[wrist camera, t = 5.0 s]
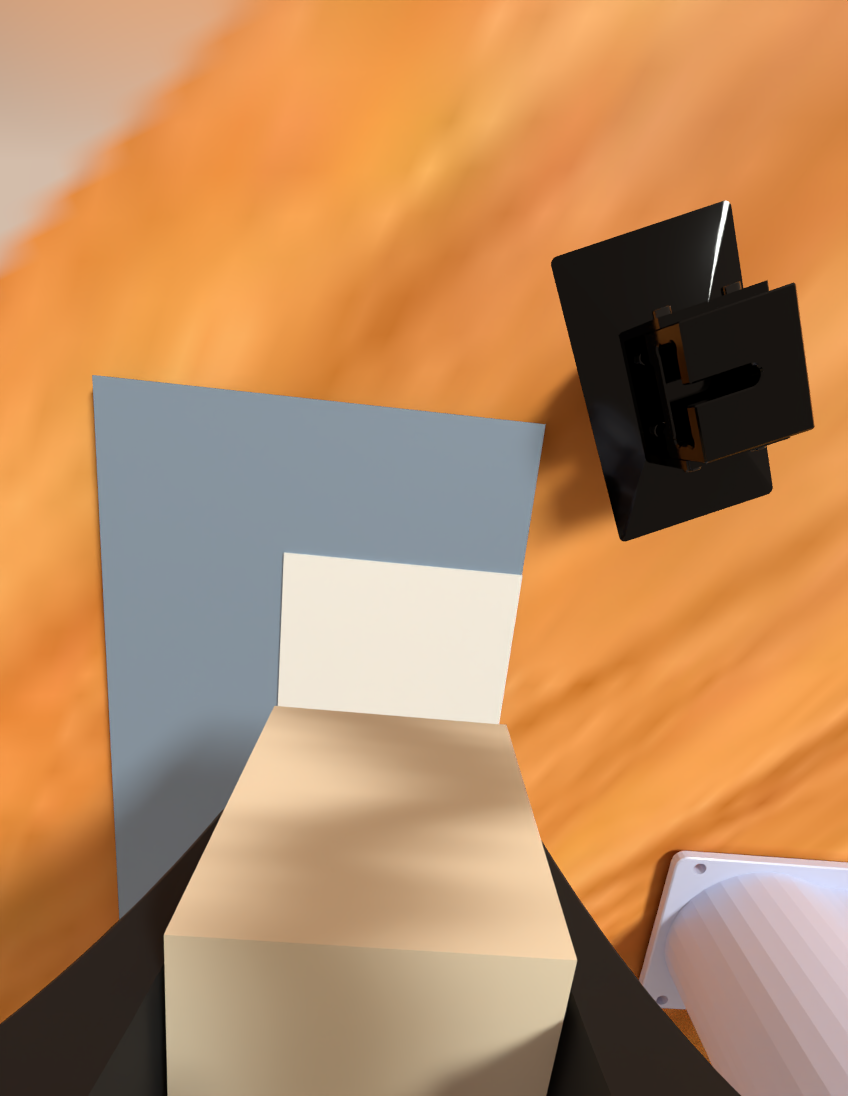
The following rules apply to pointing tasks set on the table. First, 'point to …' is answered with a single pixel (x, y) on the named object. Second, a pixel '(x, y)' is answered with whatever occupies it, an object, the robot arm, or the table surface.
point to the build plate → (682, 368)
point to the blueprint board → (290, 582)
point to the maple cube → (369, 920)
